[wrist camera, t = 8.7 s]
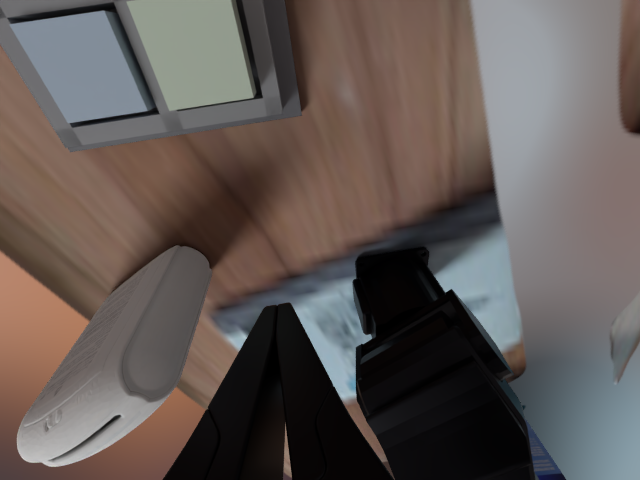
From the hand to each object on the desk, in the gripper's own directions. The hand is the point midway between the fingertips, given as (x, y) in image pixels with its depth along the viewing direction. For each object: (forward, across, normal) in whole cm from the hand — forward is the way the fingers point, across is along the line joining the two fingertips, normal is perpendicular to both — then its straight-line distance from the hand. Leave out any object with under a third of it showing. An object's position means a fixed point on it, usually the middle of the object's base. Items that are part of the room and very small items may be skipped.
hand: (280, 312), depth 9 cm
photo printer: (+13, +12, +8) cm, 20 cm away
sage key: (+11, +2, -7) cm, 13 cm away
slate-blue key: (+12, +8, -7) cm, 16 cm away
